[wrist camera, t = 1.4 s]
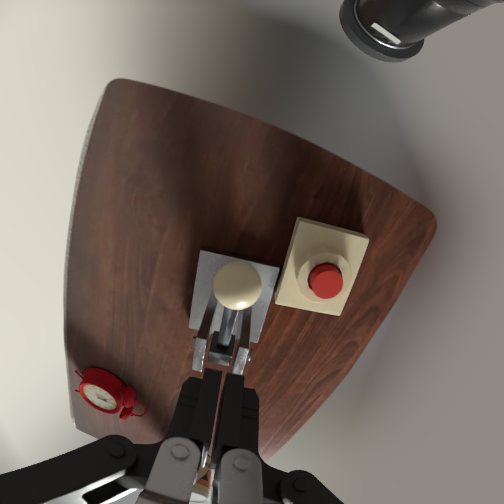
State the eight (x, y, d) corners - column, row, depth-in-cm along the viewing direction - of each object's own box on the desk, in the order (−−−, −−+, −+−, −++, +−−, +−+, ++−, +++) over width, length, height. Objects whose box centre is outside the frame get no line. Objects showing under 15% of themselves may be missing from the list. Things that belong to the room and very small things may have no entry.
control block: (297, 216, 34) (301, 224, 30) (363, 233, 34) (375, 244, 30) (274, 295, 38) (275, 311, 34) (336, 307, 38) (343, 323, 34)
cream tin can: (218, 466, 56) (213, 504, 45) (183, 463, 57) (175, 499, 46) (211, 450, 53) (204, 493, 42) (173, 447, 54) (163, 487, 42)
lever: (220, 246, 20) (209, 284, 17) (268, 256, 20) (264, 296, 17) (207, 336, 30) (201, 364, 27) (238, 343, 30) (233, 371, 27)
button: (314, 260, 32) (317, 267, 30) (343, 266, 32) (347, 274, 30) (305, 288, 33) (307, 296, 31) (333, 293, 33) (336, 301, 31)
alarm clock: (71, 367, 41) (136, 416, 39) (91, 351, 46) (153, 395, 45) (72, 395, 44) (130, 439, 43) (89, 380, 50) (144, 420, 49)
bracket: (202, 246, 36) (173, 296, 24) (279, 264, 36) (287, 321, 24) (190, 323, 40) (166, 386, 28) (257, 337, 40) (255, 405, 28)
